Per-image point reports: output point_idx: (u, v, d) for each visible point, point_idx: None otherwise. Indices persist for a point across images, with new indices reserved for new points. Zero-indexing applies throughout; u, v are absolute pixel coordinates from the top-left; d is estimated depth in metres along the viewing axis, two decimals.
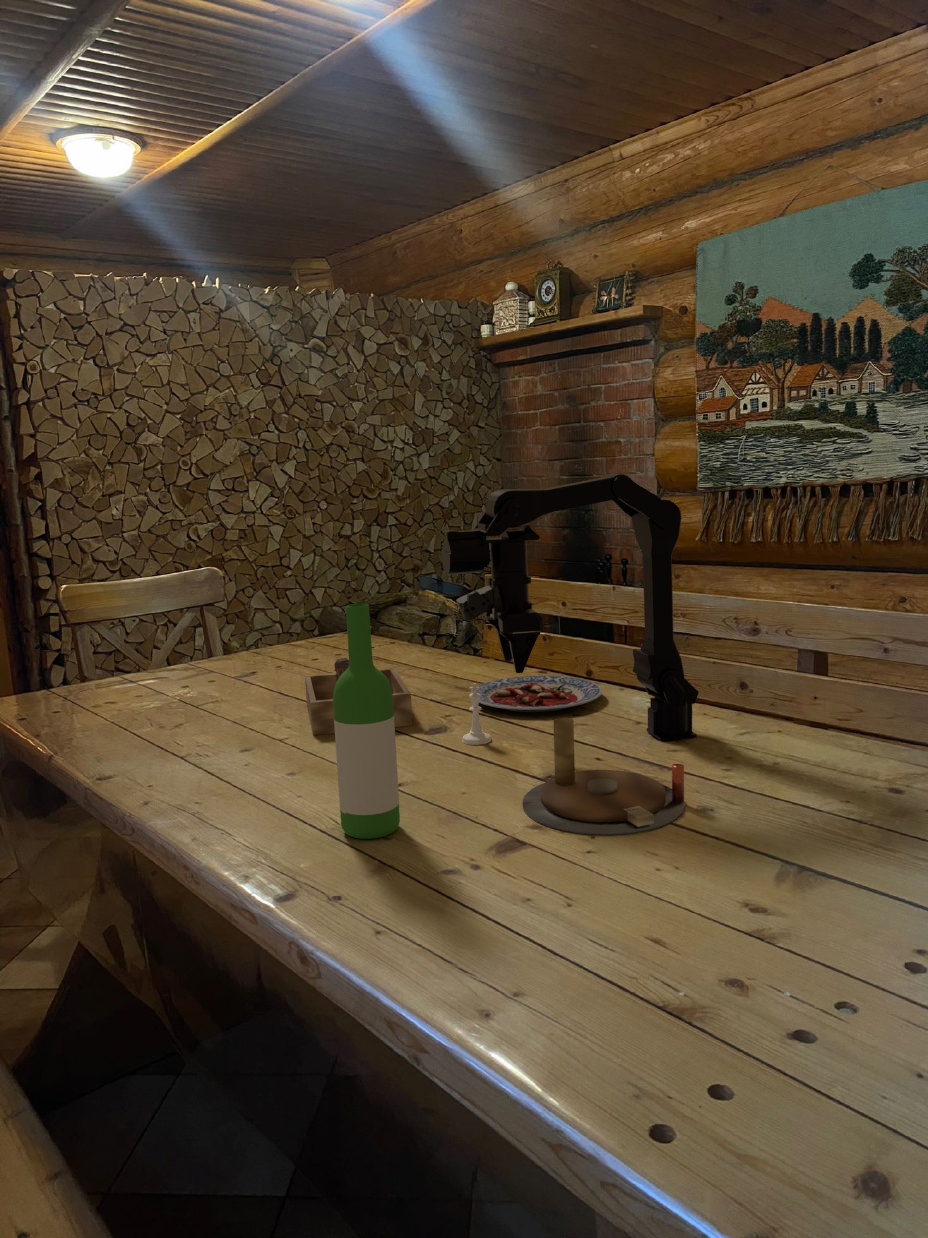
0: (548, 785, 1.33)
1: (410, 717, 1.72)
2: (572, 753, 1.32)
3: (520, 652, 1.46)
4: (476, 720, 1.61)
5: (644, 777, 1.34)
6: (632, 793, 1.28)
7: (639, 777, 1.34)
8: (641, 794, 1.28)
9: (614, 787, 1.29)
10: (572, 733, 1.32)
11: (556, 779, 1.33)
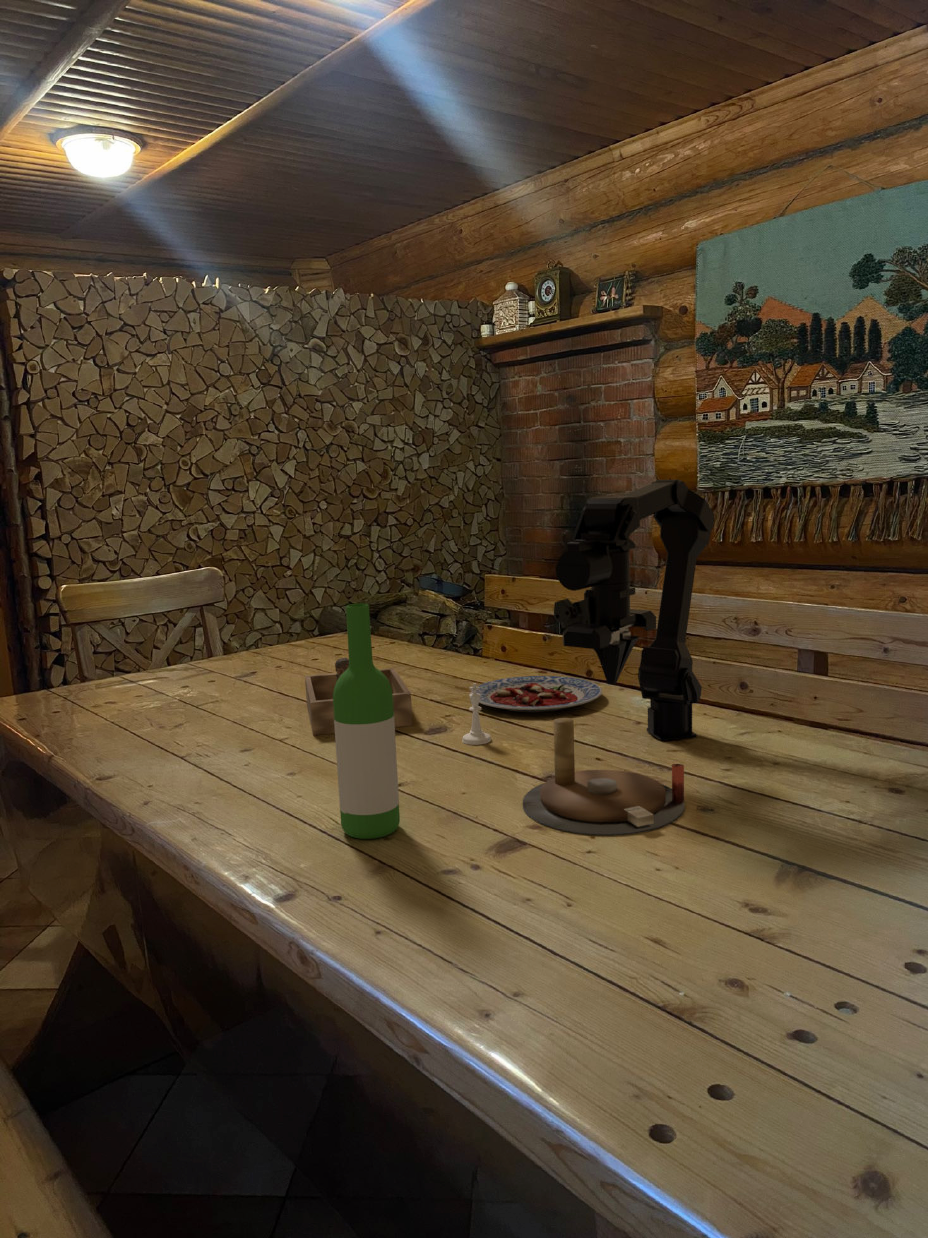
0: (548, 785, 1.33)
1: (410, 717, 1.72)
2: (572, 753, 1.32)
3: (607, 663, 1.42)
4: (476, 720, 1.61)
5: (644, 777, 1.34)
6: (632, 793, 1.28)
7: (639, 777, 1.34)
8: (641, 794, 1.28)
9: (614, 787, 1.29)
10: (572, 733, 1.32)
11: (556, 779, 1.33)
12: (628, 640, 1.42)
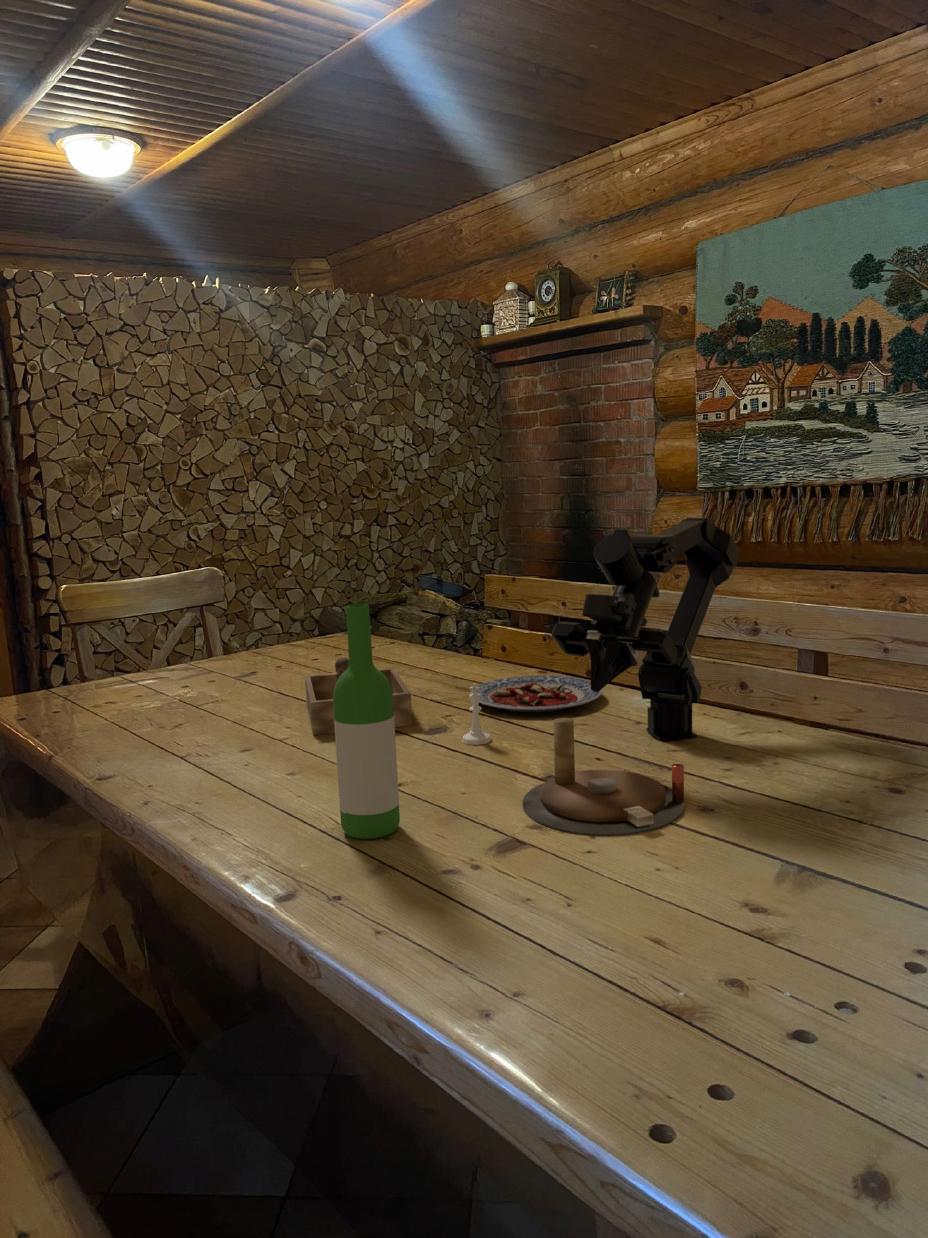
0: (548, 785, 1.33)
1: (410, 717, 1.72)
2: (572, 753, 1.32)
3: (610, 671, 1.39)
4: (476, 720, 1.61)
5: (644, 777, 1.34)
6: (632, 793, 1.28)
7: (639, 777, 1.34)
8: (641, 794, 1.28)
9: (614, 787, 1.29)
10: (572, 733, 1.32)
11: (556, 779, 1.33)
12: None
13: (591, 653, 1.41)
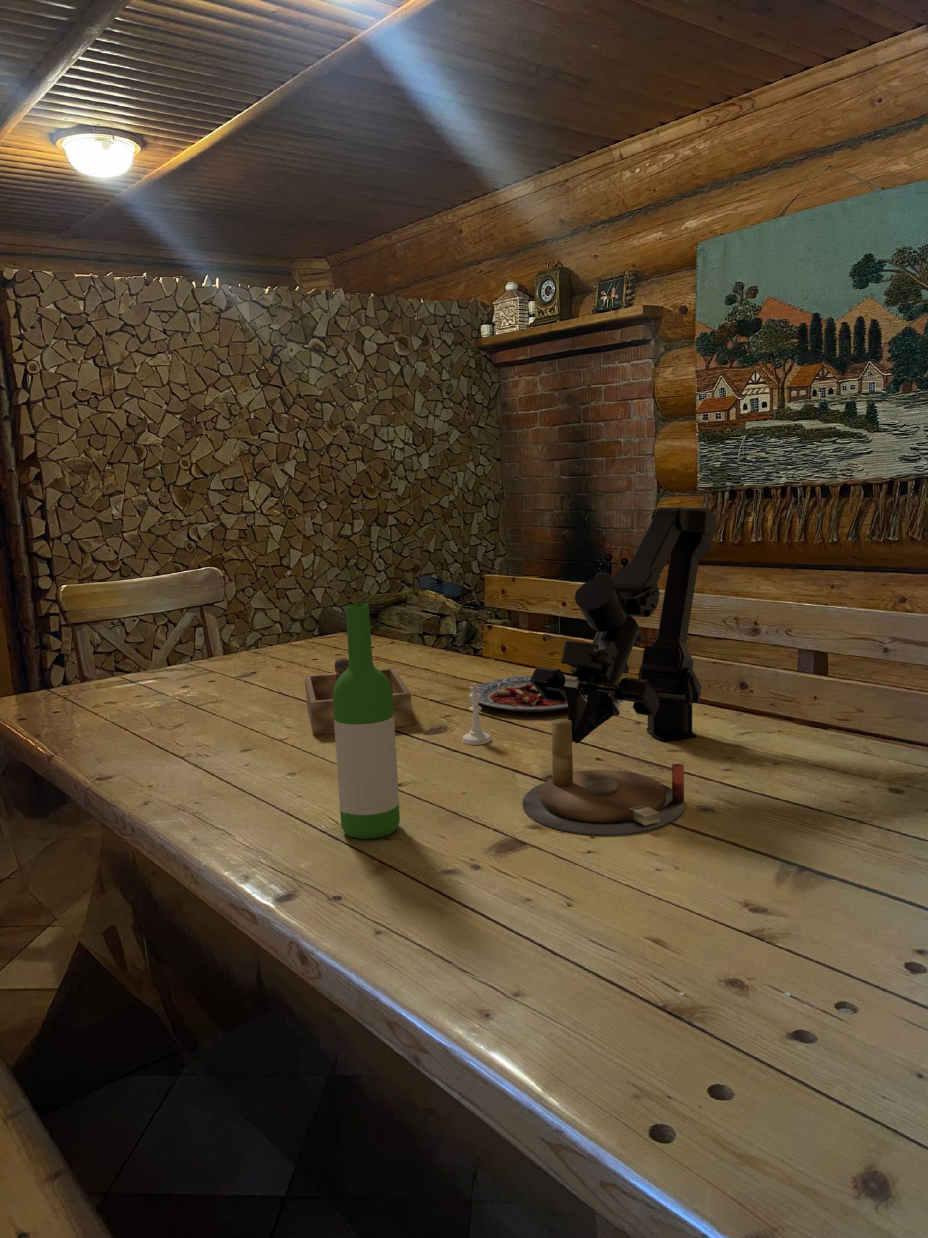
0: (547, 787, 1.32)
1: (410, 717, 1.72)
2: (570, 754, 1.32)
3: (591, 722, 1.34)
4: (476, 720, 1.61)
5: (640, 776, 1.35)
6: (633, 792, 1.29)
7: (635, 776, 1.35)
8: (642, 793, 1.28)
9: (615, 787, 1.29)
10: (570, 734, 1.32)
11: (554, 781, 1.33)
12: None
13: (569, 701, 1.36)
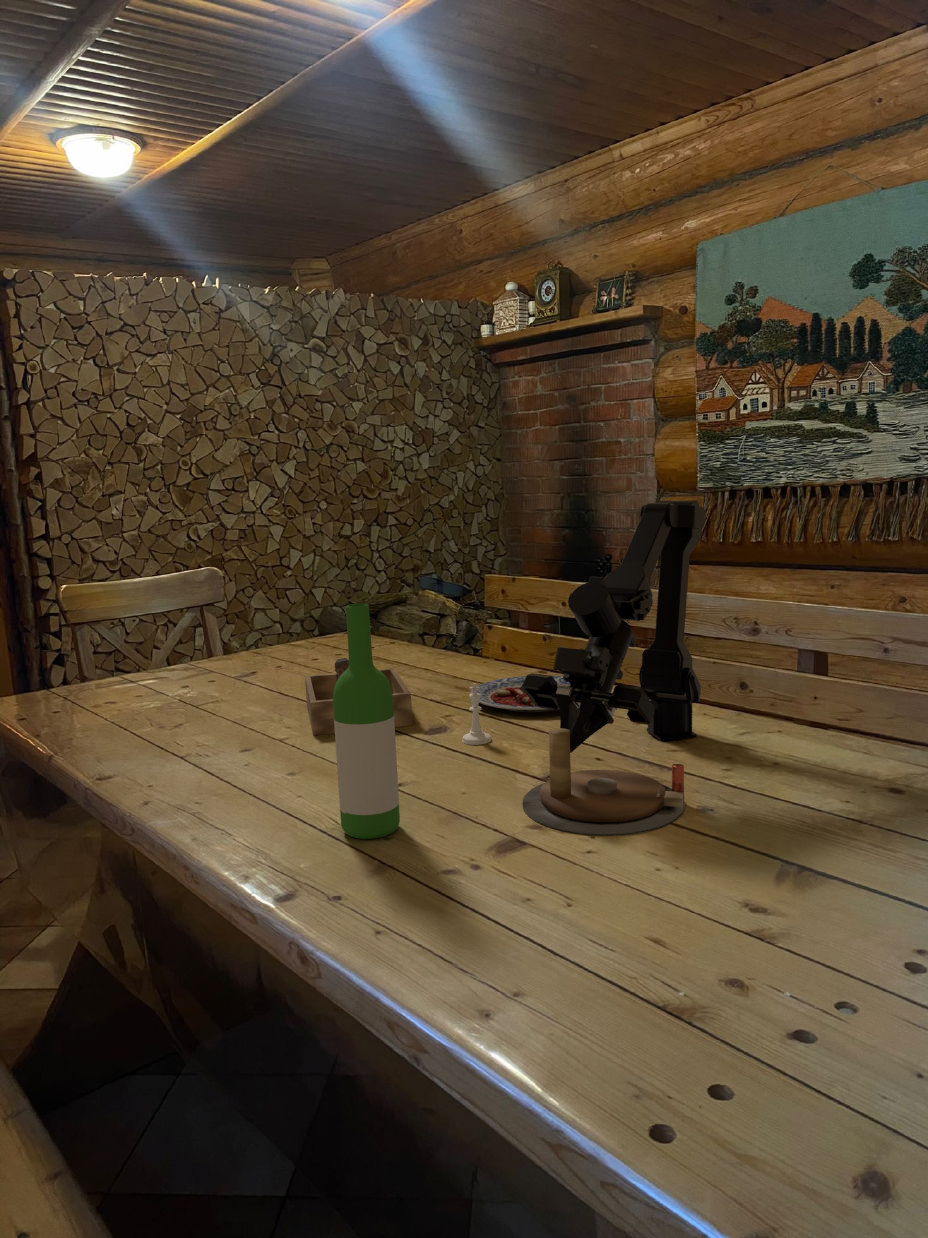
0: (557, 802, 1.27)
1: (410, 717, 1.72)
2: None
3: (584, 730, 1.30)
4: (476, 720, 1.61)
5: (600, 770, 1.38)
6: (627, 784, 1.32)
7: (597, 772, 1.37)
8: (635, 782, 1.33)
9: None
10: None
11: (559, 793, 1.28)
12: None
13: (561, 709, 1.32)
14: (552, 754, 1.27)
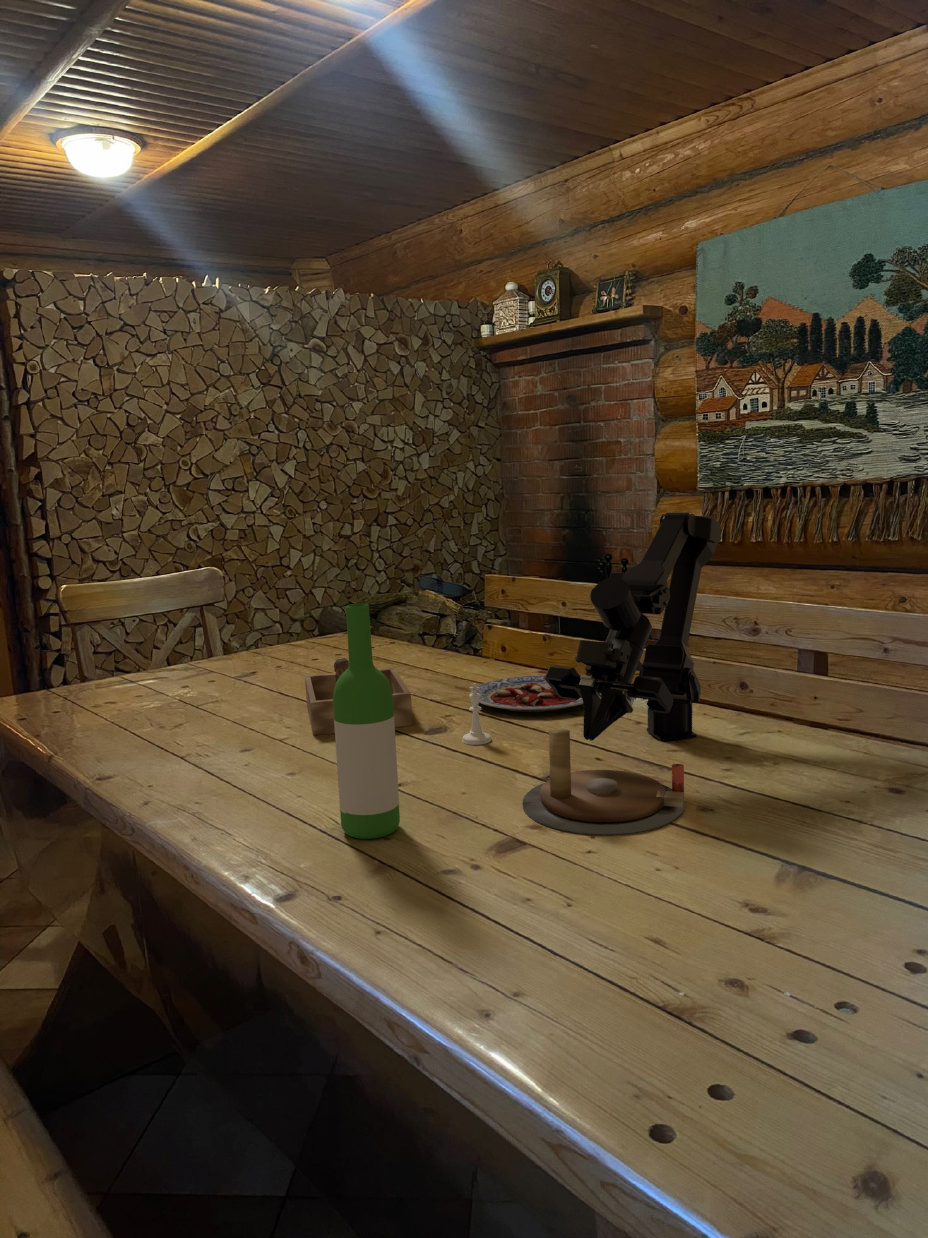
0: (557, 802, 1.27)
1: (410, 717, 1.72)
2: None
3: (605, 719, 1.36)
4: (476, 720, 1.61)
5: (600, 770, 1.38)
6: (627, 784, 1.32)
7: (597, 772, 1.37)
8: (635, 782, 1.33)
9: None
10: None
11: (559, 793, 1.28)
12: None
13: (584, 699, 1.38)
14: (552, 754, 1.27)
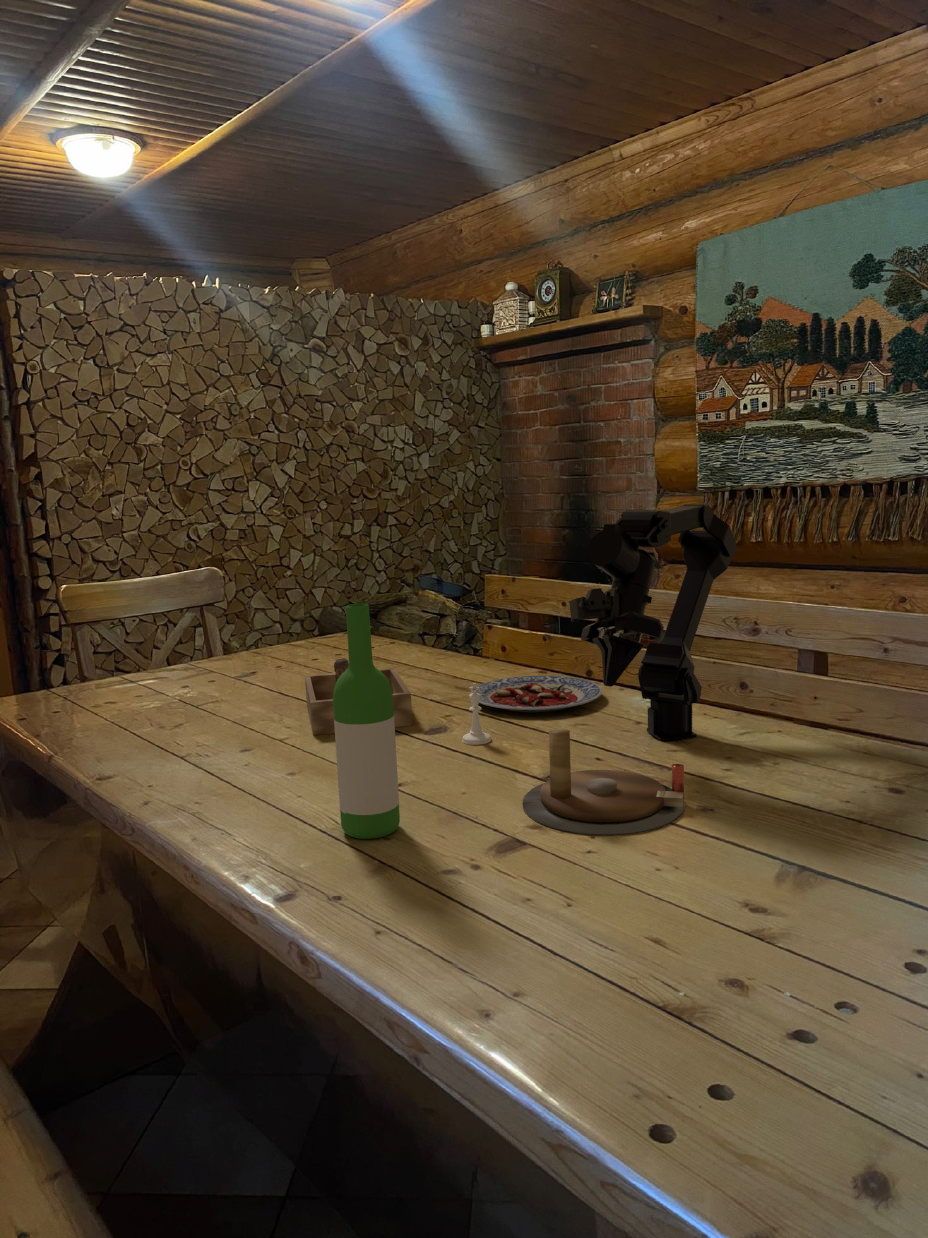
0: (557, 802, 1.27)
1: (410, 717, 1.72)
2: None
3: (617, 663, 1.42)
4: (476, 720, 1.61)
5: (600, 770, 1.38)
6: (627, 784, 1.32)
7: (597, 772, 1.37)
8: (635, 782, 1.33)
9: None
10: None
11: (559, 793, 1.28)
12: None
13: (601, 650, 1.46)
14: (552, 754, 1.27)
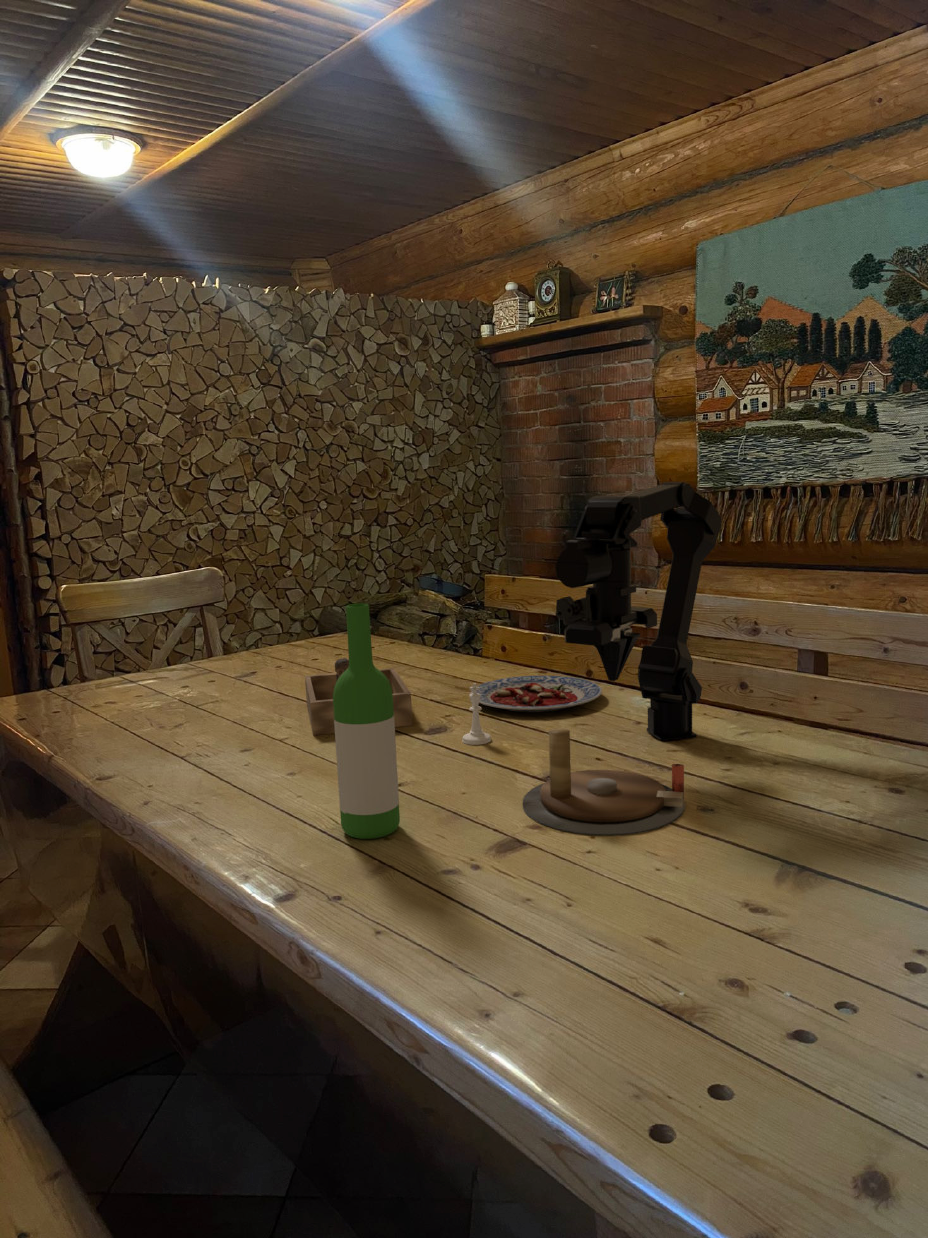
0: (557, 802, 1.27)
1: (410, 717, 1.72)
2: None
3: (608, 660, 1.44)
4: (476, 720, 1.61)
5: (600, 770, 1.38)
6: (627, 784, 1.32)
7: (597, 772, 1.37)
8: (635, 782, 1.33)
9: None
10: None
11: (559, 793, 1.28)
12: (630, 637, 1.44)
13: None
14: (552, 754, 1.27)
